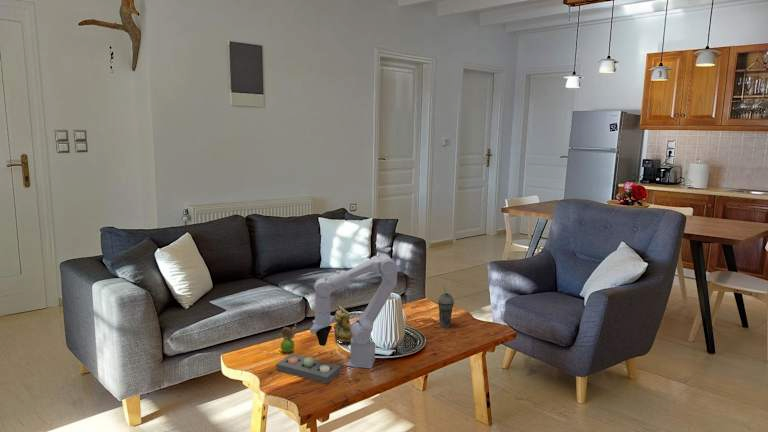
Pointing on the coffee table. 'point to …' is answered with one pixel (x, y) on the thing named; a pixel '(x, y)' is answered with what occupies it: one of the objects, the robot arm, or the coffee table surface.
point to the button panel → (309, 373)
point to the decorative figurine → (342, 325)
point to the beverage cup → (445, 309)
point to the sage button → (308, 362)
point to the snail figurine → (288, 339)
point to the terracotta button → (293, 360)
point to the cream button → (325, 368)
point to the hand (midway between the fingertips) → (322, 344)
